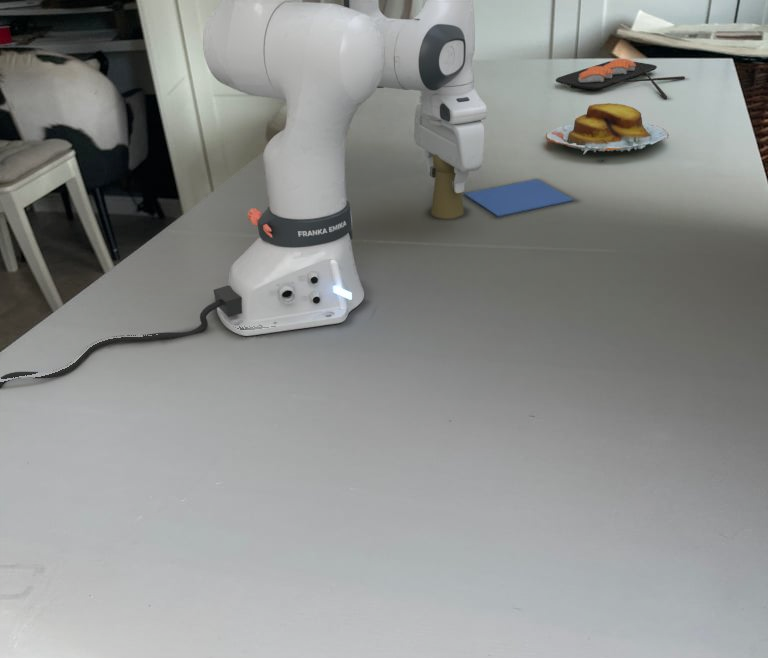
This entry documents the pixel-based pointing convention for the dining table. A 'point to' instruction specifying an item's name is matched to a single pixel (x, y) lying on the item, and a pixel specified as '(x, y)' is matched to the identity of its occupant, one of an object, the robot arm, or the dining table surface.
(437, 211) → the brown peg doll
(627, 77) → the sushi plate
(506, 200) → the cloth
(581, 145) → the food on plate
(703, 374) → the dining table surface
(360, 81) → the robot arm
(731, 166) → the dining table surface
